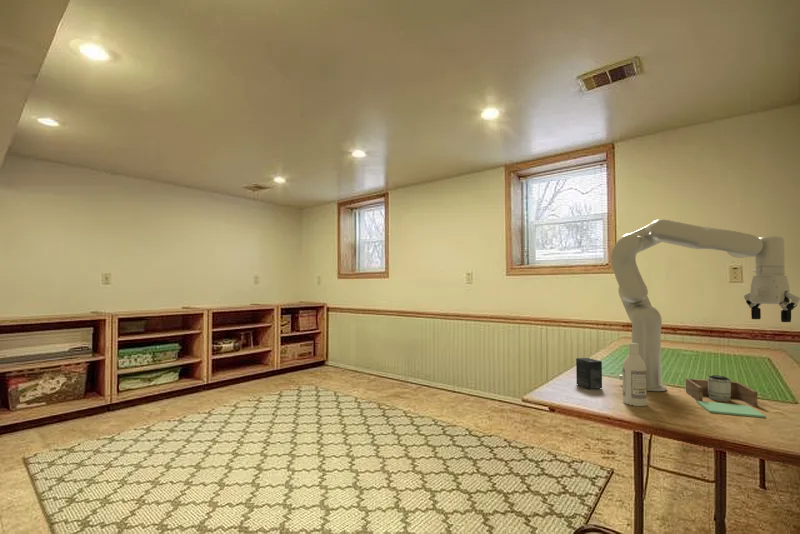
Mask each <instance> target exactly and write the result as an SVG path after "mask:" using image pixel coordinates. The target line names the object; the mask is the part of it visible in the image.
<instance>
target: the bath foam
mask: <svg viewBox="0 0 800 534" xmlns="http://www.w3.org/2000/svg"><path fill="white" fill-rule="evenodd" d="M621 369H622V373H621V375H623V380H622V402H623V403H624V404H626V405H628V404H629V406H632V405H633V406H634V407H646V406H647V405H648V391H647V371H646V365H645V363H644V361H643V359H642V358H641V357H640V355H639V344H638V343H632V342H629V343H628V354H627V356H626V357H625V359H624V360H623V362H622V368H621ZM633 406H632V407H633Z"/></svg>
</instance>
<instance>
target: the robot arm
mask: <svg viewBox="0 0 800 534" xmlns="http://www.w3.org/2000/svg"><path fill="white" fill-rule="evenodd" d="M660 243H665V244H670V245H676V246H679V247H680V246H681V247H683V248H684V247H685V248H687V249H688V248H689V249H694V250H695V249H696V250H716V251H722V252H726V253H727V255H729V256H730V257H733V258H735V259H737V258H738V259H743V258H751V257H755V259H754V260H755V268H753V270H752V271H753V273H755V275H753V276H752V279H751V283H750V291H749V293H747V294H745V295H743V298H744V300H745V302H746V304H747V306H748V307H749V309H751V310H750V312H751V314H750V315H751V319H752V320H761V318H762V317H761V315H762V313H761V310H762V309H761V308H759V307H761V305H762V304H766V305H778V306H780V308H781V309H782V310H780V322H782V323H791V322H792V311H793V310H794V309H795V308H796V307H798V304H799V302H800V297H799V296H797V295H795V294H793V293H791V292H790V291H791V289H790V284H789V280H788V276H787V275H786V272H785V271H786V270H785V268H786V267H785V265H786V264H785V240H784V238H783V237H782V236H778V235H776V236H775V235H773V236H772V235H771V236H770V235H769V236H761V237H758V236H756V235H754V234H751V233H745V232H741V231H735V230H730V229H722V228H714V227H708V226H701V225H700V226H699V225H694V224H689V223H684V222H681V221H675V220H670V219H663V218H662V219H661V218H660V219H656V220H653V221H652V222H650V223H649V224H647V225H646V226H644V227H641V228H640V229H637V230H635V231H633V232H630V233H629V232H628V233H625V234H623V235H622V236H621V237H620V238H619V239H618V240H617V241H616V243H615V244H614V245H613V248H612V251H611V255H610V265H611V269H612V271H613V274H614V277H615V279H616V281H617V284H618V288H617V289H618V294H619V295H618V296H619V298H620V300H621V302H622V305H623V308H624V310H625V312H626V314H627V316H628V319H629V320H630V321H629V322H631V325H632V326H631V327H632V328H631V343H638V344H639V355H640V357H641V358H642V359H643V361H644V363H645V365H646V371H647V392H648V391H649V392H664V391H667V386H666V385H665V384H663V383H662V344H661V343H662V342H661V341H662V340H661V339H662V336H661V335H662V322H663V321H662V320H663V319H662V315H661V313H660V311H659V310H658V309H657V308H656V307H654V306H652V304H651V303H652V302H651V301H650V298H649V297H648V294H649V291H648V290H649V288H648V287H647V285H646V283H645V281H644V279H643V276H642V274H641V272H640V270H639V267H638V265H637V262H636V258H637V254H638V253H641V252H643V251H645V250H647V249H650V248H651V247H654V246H657V245H658V244H660ZM618 379H619V380H620V381H623V375H622V374H618Z"/></svg>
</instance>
